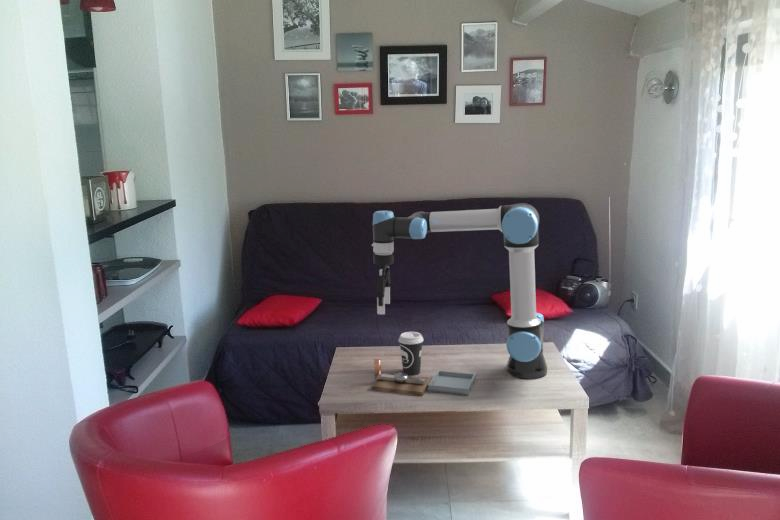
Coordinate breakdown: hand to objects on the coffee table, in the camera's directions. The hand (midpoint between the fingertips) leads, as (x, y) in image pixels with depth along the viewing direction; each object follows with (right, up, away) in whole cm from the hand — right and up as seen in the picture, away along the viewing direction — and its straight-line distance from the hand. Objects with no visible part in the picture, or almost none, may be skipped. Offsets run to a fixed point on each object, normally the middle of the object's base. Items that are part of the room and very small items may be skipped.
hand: (383, 308), depth 237 cm
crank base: (+7, -28, -7) cm, 29 cm away
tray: (+25, -27, -8) cm, 38 cm away
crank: (+6, -26, -7) cm, 28 cm away
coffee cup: (+11, -25, +6) cm, 28 cm away
